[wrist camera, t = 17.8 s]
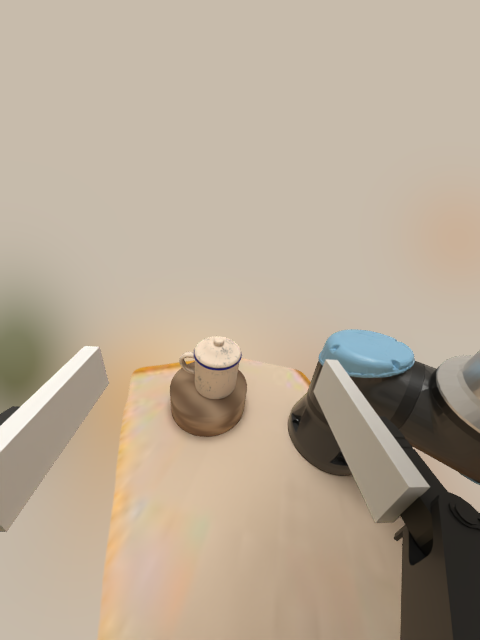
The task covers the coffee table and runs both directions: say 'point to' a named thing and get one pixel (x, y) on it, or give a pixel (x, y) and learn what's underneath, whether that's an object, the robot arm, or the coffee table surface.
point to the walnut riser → (205, 406)
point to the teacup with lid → (214, 366)
